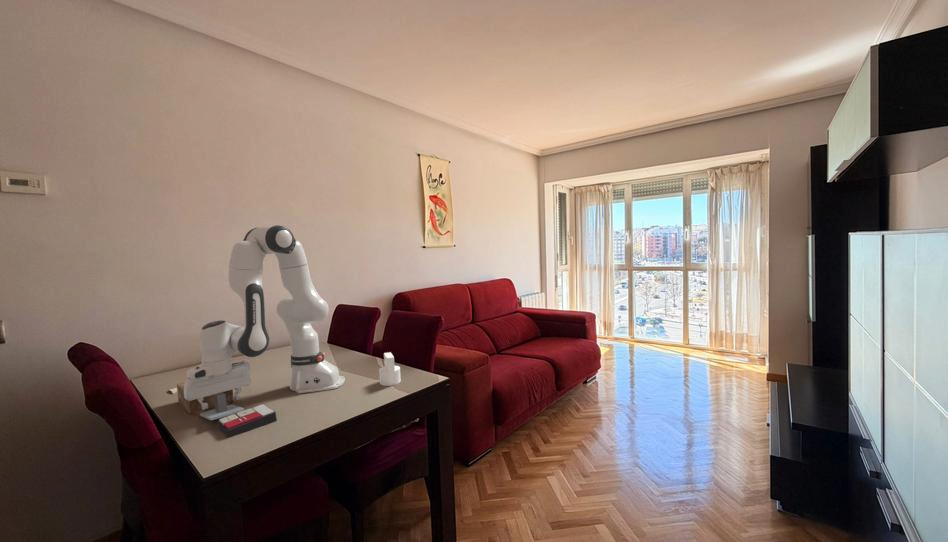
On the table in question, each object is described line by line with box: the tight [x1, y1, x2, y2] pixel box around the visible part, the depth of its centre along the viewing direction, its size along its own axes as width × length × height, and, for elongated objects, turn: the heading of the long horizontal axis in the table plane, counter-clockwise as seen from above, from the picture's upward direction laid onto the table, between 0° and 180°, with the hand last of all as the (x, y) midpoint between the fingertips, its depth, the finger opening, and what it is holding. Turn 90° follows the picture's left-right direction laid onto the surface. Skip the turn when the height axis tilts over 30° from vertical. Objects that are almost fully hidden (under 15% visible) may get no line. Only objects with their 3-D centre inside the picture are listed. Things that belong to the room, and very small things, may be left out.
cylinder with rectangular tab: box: [378, 351, 402, 387], centre depth 168 cm, size 9×9×12 cm
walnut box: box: [176, 381, 235, 416], centre depth 153 cm, size 14×20×8 cm
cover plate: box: [199, 393, 245, 421], centre depth 139 cm, size 10×18×7 cm, turn 46°
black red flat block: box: [216, 403, 278, 439], centre depth 132 cm, size 11×4×15 cm
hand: (220, 404), depth 139 cm, fingers open, 8 cm apart
